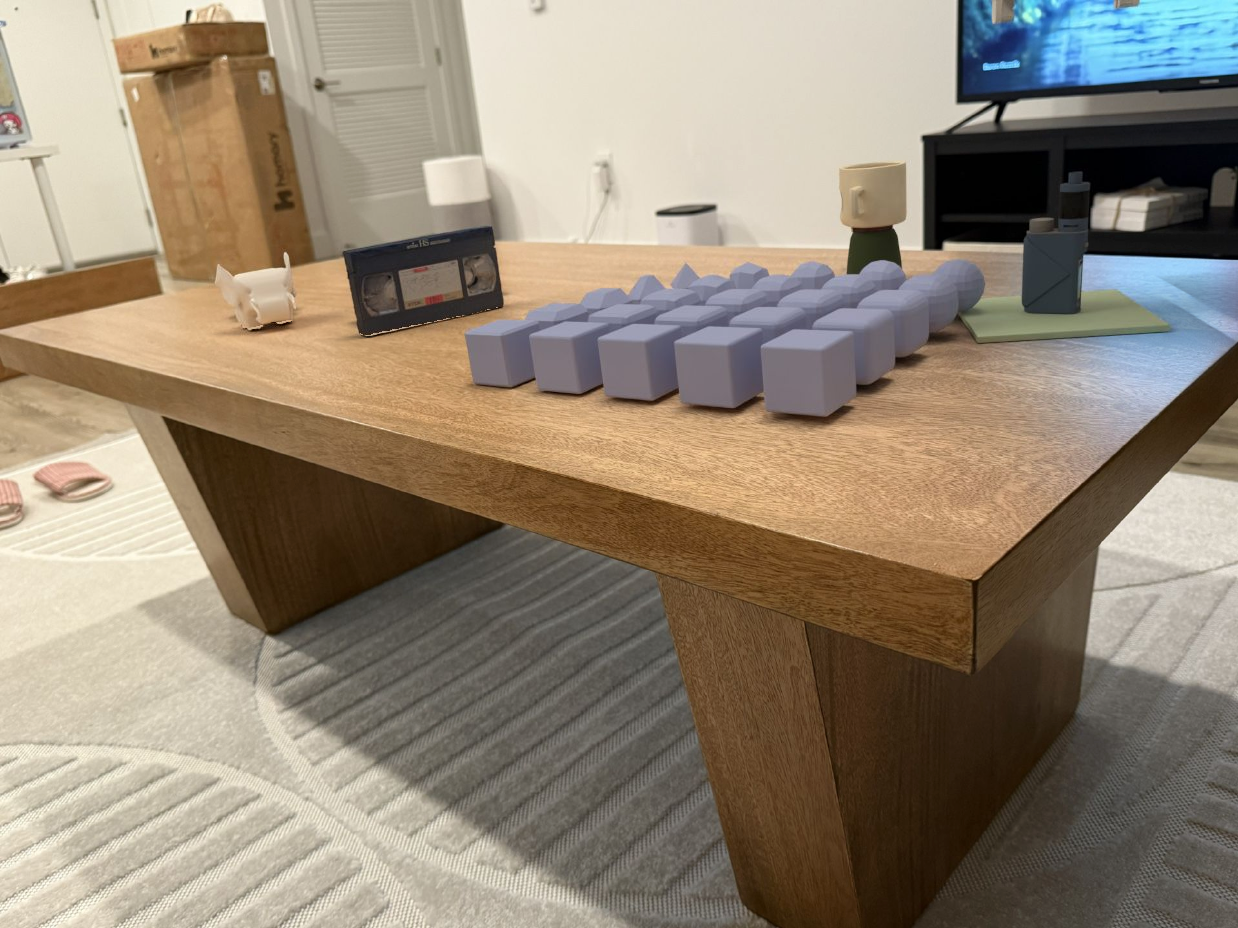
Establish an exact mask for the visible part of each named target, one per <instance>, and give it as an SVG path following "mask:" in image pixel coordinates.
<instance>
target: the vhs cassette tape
mask: <svg viewBox="0 0 1238 928" xmlns="http://www.w3.org/2000/svg"><path fill="white" fill-rule="evenodd" d="M493 229H494V228H493V226H492V225H491V226H490V225H481V226H475V227H470V228H464V229H463V228H462V229H458V230H451V231H447V232H440V233H435V234H430V235H423V236H422V235H421V236H418V237H413V238H407V239H401V240H397V241H391V242H385V243H379V244H375V245H374V244H373V245H369V246H363V247H358V248H353V249H347V250H343V251H342V255H343V260H344V266H345V268H346V269H345V271H346V274H347V280H348V284H349V290H350V295H351V299H352V304H353V305H352V306H353V310H354V316H355V318H356V319H355V320H356V327H357V330H358V333H359V334H360V333H361V334H363V335H371V334H373V333H379V332H382V331H390V330H392V329H399V328H402V327H409V326H411V325H418V324H424V323H427V322H434V321H437V320H443V319H446V318H452V317H456V316H462V315H467V316H469V315H468V314H472V313H476V314H478V313H477V312H480V311H485V310H487V309H493V310H495V309H494V308H496V307H502V306H503V307H504V305H505V300H504V292H503V289H502V288H503V287H502V282H501V281H502V280H501V275H500V267H499V261H498V253H497V248H496V247H495V246H496V239H495V238H496V237H495V235H494V230H493ZM503 307H502V308H503ZM485 312H486V311H485ZM480 313H481V312H480ZM472 315H473V314H472Z"/></svg>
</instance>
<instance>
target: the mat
mask: <svg viewBox="0 0 1238 928" xmlns="http://www.w3.org/2000/svg"><path fill="white" fill-rule="evenodd" d="M957 315H958V316H959V318H960V319H961V321H962V323H963V324H964V325H965V327H966V328H967V329H968V331H969V332H970V334H971V335H972V337H973V339H974V340H975V342H976V343H977V344H989V343H1004V342H1005V343H1006V342H1019V341H1021V342H1022V341H1036V340H1052V339H1053V340H1054V339H1067V338H1068V339H1069V338H1086V337H1101V336H1103V337H1104V336H1118V335H1134V334H1149V333H1166V332H1170V331H1171V324H1170V323H1169V322H1167V321H1166V320H1164V319H1162V318H1161V317H1159V316H1158V315H1156V314H1154V313H1153V312H1152V311H1150V310H1148V309H1147V308H1146V307H1145V306H1143V305H1142V304H1140V303H1138V302H1137V301H1135V300H1134V299H1132V298H1131V297H1129V296H1127V295H1126V294H1125V293H1123V292H1121V291H1120V290H1119V289H1118V288H1115V289H1114V288H1110V289H1098V290H1083V291H1082V290H1081V311H1079V312H1077V313H1073V314H1039V313H1027V312H1025V311H1024V307H1023V305H1022V295H1010V296H996V297H983V298H982V297H981V298H980V300H979V302H978V303H977V304H976V305H975V306H974V307H972V308H970V309H968V310H966V311H962V312H957Z"/></svg>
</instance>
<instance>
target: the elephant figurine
mask: <svg viewBox="0 0 1238 928" xmlns="http://www.w3.org/2000/svg"><path fill="white" fill-rule="evenodd" d="M283 260H284V265H285V267H271V268H264V269H258V270H253V271H248V272H241V273H238V274H235V275H234V276H233V274H231V273H230V272H229V271H228V270H227V269H226V268H224V267H223V266H221V264H220V263H217V265H216V273H215V280H214V285H215V287H217V288H218V289H219V290H220V291H221V294H222V298H223V300H224V301H225V302H226V303H227V304H228V305H229V306H232V307H233V312H234V315H235V318H236V320H237V322H238V324H239V326H240V325H244V326H245V327H246V328H251V327H256V326H260V325H266V324H272V323H271V322H282V321H286V320H293V321H294V310H297V307H296V305H297V304H296V301H295V298H296V297H297V296H298V293H297V289H296V286H295V283H294V281H293V274H292V268H291V264H290V257H289V254H288V253H287V252H286V251H284V252H283Z"/></svg>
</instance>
